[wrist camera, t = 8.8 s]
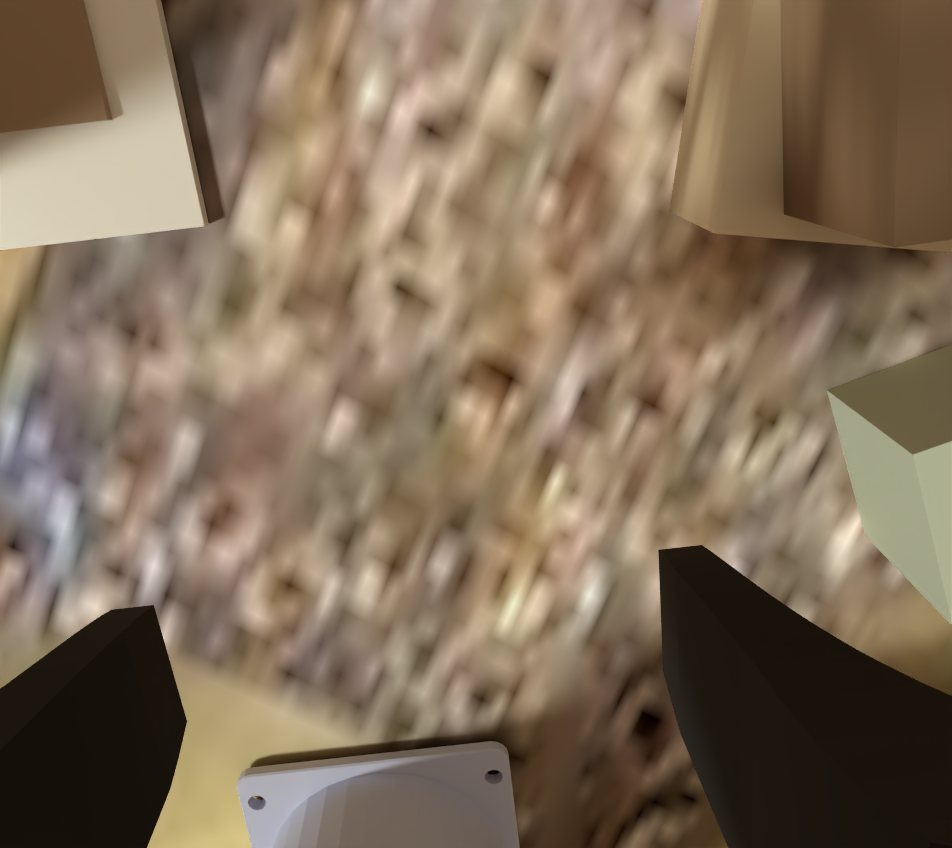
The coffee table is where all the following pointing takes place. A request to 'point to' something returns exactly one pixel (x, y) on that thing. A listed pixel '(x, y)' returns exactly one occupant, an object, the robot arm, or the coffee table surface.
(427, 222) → the coffee table surface
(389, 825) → the robot arm
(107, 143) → the card
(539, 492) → the coffee table surface
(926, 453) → the sage cube
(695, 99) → the maple base
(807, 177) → the walnut cube
